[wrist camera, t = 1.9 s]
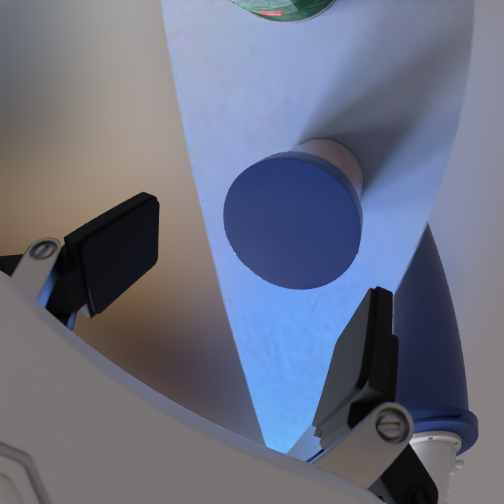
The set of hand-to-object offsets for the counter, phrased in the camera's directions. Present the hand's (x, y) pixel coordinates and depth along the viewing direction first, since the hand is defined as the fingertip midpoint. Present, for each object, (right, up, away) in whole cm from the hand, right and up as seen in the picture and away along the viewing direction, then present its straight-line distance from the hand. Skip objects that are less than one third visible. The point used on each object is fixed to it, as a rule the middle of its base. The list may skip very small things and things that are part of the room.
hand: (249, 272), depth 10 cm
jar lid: (+2, +2, +4) cm, 5 cm away
